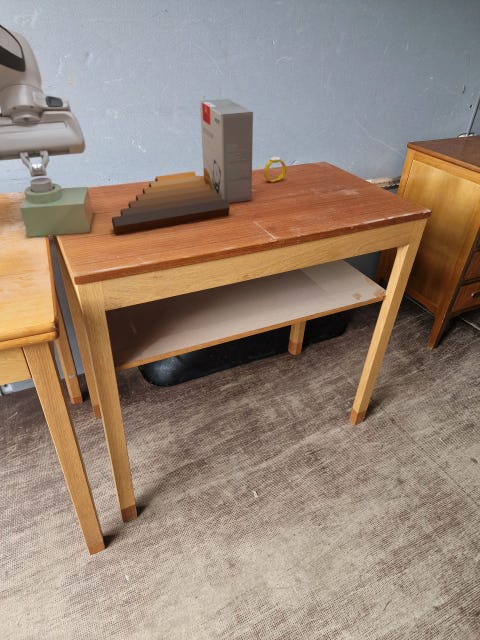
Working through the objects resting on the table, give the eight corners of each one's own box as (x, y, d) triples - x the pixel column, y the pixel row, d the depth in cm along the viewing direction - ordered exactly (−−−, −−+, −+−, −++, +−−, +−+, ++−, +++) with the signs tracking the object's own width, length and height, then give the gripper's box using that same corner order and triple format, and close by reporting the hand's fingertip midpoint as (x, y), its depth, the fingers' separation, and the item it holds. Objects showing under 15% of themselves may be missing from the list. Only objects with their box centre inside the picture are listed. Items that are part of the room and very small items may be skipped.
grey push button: (31, 194, 88) (28, 184, 87) (34, 188, 91) (31, 178, 90) (52, 193, 88) (49, 183, 87) (55, 186, 92) (52, 177, 90)
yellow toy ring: (281, 177, 120) (282, 155, 116) (287, 180, 118) (288, 157, 114) (262, 181, 118) (263, 158, 114) (267, 184, 116) (268, 161, 112)
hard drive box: (203, 184, 116) (199, 100, 104) (230, 180, 118) (229, 98, 106) (222, 205, 104) (220, 112, 92) (252, 200, 106) (254, 110, 94)
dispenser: (28, 237, 90) (16, 198, 85) (36, 218, 97) (26, 181, 93) (89, 232, 91) (81, 194, 87) (92, 213, 99) (85, 178, 95)
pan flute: (116, 236, 90) (229, 216, 98) (114, 220, 88) (229, 201, 96) (96, 196, 108) (192, 182, 117) (93, 182, 106) (192, 169, 115)
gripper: (-38, 105, 83) (-24, 172, 82) (75, 99, 90) (90, 161, 88) (-27, 125, 89) (-15, 188, 88) (78, 118, 96) (91, 177, 94)
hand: (38, 174), depth 88 cm, fingers closed
